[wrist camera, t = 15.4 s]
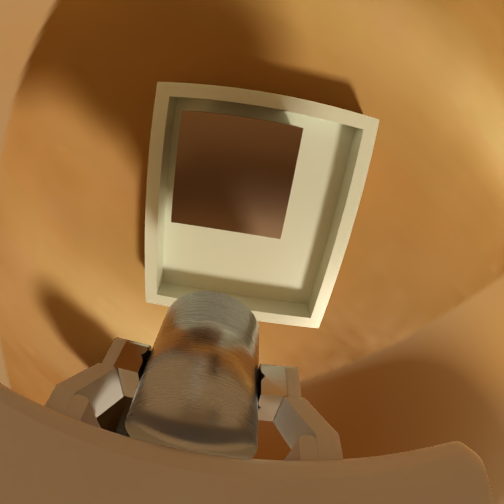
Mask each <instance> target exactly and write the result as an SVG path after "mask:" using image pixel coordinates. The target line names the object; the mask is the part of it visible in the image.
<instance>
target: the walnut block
mask: <svg viewBox="0 0 504 504" xmlns="http://www.w3.org/2000/svg"><path fill="white" fill-rule="evenodd" d="M302 133H303V128H301V127H297V126H294V125H290V124H285V123H280V122H274V121H269V120H263V119H257V118H250V117H244V116H237V115H229V114H221V113H213V112H203V111H182V115H181V123H180V131H179V139H178V147H177V156H176V166H175V176H174V188H173V200H172V214H171V222H174V223H180V224H187V225H194V226H200V227H207V228H213V229H220V230H226V231H233V232H239V233H245V234H251V235H258V236H264V237H270V238H276V239H281V235H282V230H283V225H284V221H285V216H286V211H287V207H288V202H289V197H290V193H291V188H292V183H293V178H294V173H295V168H296V163H297V158H298V153H299V148H300V143H301V138H302Z"/></svg>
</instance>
